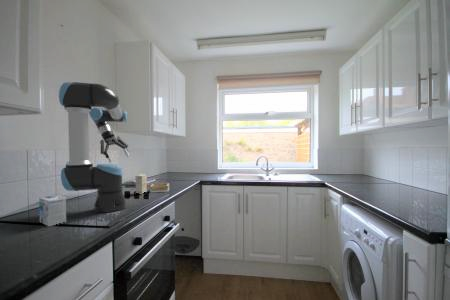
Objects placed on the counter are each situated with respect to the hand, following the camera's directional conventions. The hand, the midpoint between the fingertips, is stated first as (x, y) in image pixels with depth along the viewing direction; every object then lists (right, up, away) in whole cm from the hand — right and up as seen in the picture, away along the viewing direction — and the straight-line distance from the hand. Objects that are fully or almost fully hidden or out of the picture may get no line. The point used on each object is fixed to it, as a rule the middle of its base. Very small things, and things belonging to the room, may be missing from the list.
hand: (120, 159), depth 162 cm
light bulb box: (-2, -25, -61) cm, 66 cm away
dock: (+25, -23, +9) cm, 35 cm away
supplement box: (+15, -24, -2) cm, 28 cm away
